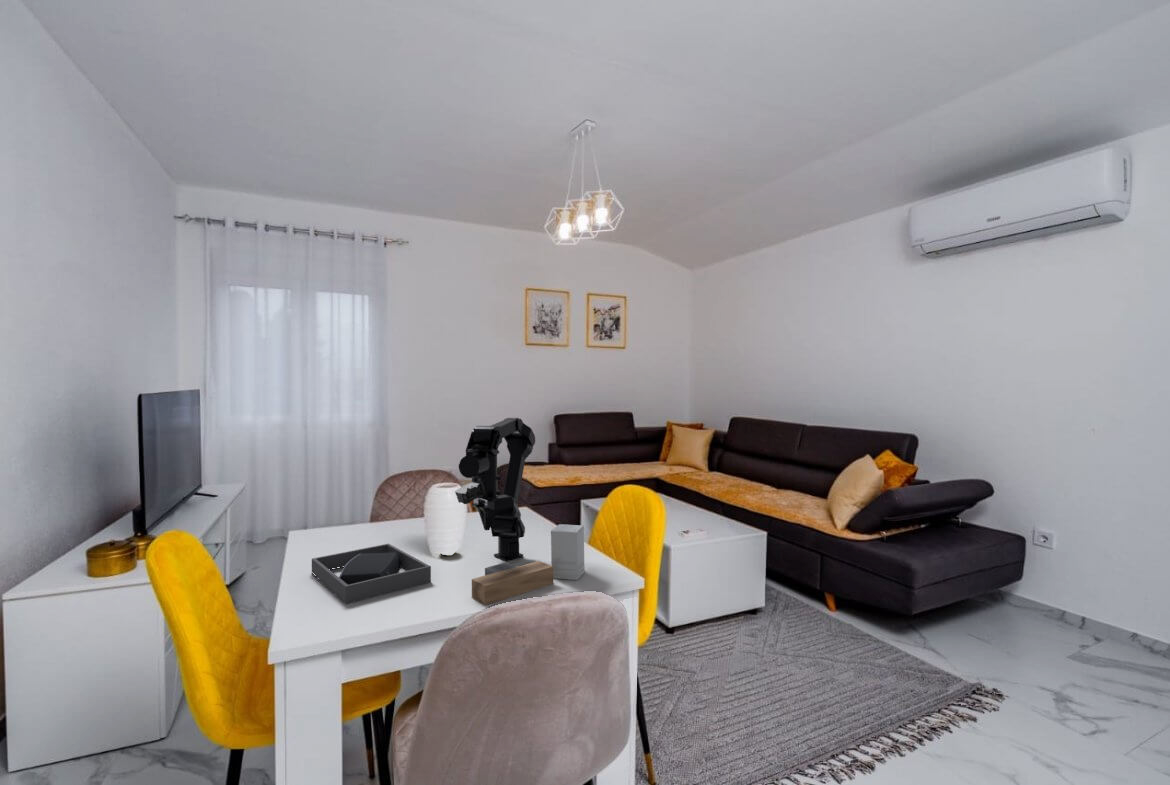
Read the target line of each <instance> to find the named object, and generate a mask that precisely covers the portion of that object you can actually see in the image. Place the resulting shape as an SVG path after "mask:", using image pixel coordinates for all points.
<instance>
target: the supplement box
mask: <svg viewBox="0 0 1170 785" xmlns="http://www.w3.org/2000/svg"><path fill="white" fill-rule="evenodd" d="M550 546H551V547H550V548H551V549H550V552H551V554H550V555H551V556H550V558H551V561H550V562H551V564H550V565H551V566H553V579H559V580H561V579H562V580H573V581H578V580H579V579H580V578H581V577H582V576H583V574H584V572H585V570H586V569H585V528H584V525H582V524H581V525H579V524H578V525H577V524H562V523H559V524H558V525H556V526H555V527H554V528H553V529H551V530H550Z"/></svg>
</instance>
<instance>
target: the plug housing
mask: <svg viewBox="0 0 1170 785" xmlns="http://www.w3.org/2000/svg"><path fill="white" fill-rule="evenodd" d="M515 567H517V566H516V565H513V564H512V563H508V562H502V563H499V564H494V565H491V566H487V567H485V568H484V576H485V575H489V574H492V573H496V572H500V571H503V570H507V569H511V568H515Z"/></svg>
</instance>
